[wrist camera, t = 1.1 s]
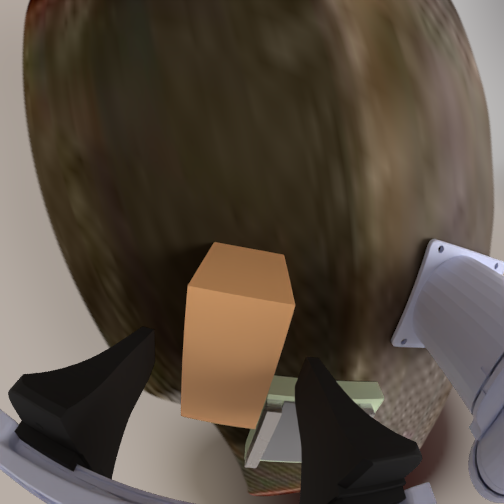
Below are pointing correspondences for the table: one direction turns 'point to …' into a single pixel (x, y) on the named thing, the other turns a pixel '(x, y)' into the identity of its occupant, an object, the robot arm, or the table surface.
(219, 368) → the tan tapered column
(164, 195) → the table surface
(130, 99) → the table surface
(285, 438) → the green rimmed tray
